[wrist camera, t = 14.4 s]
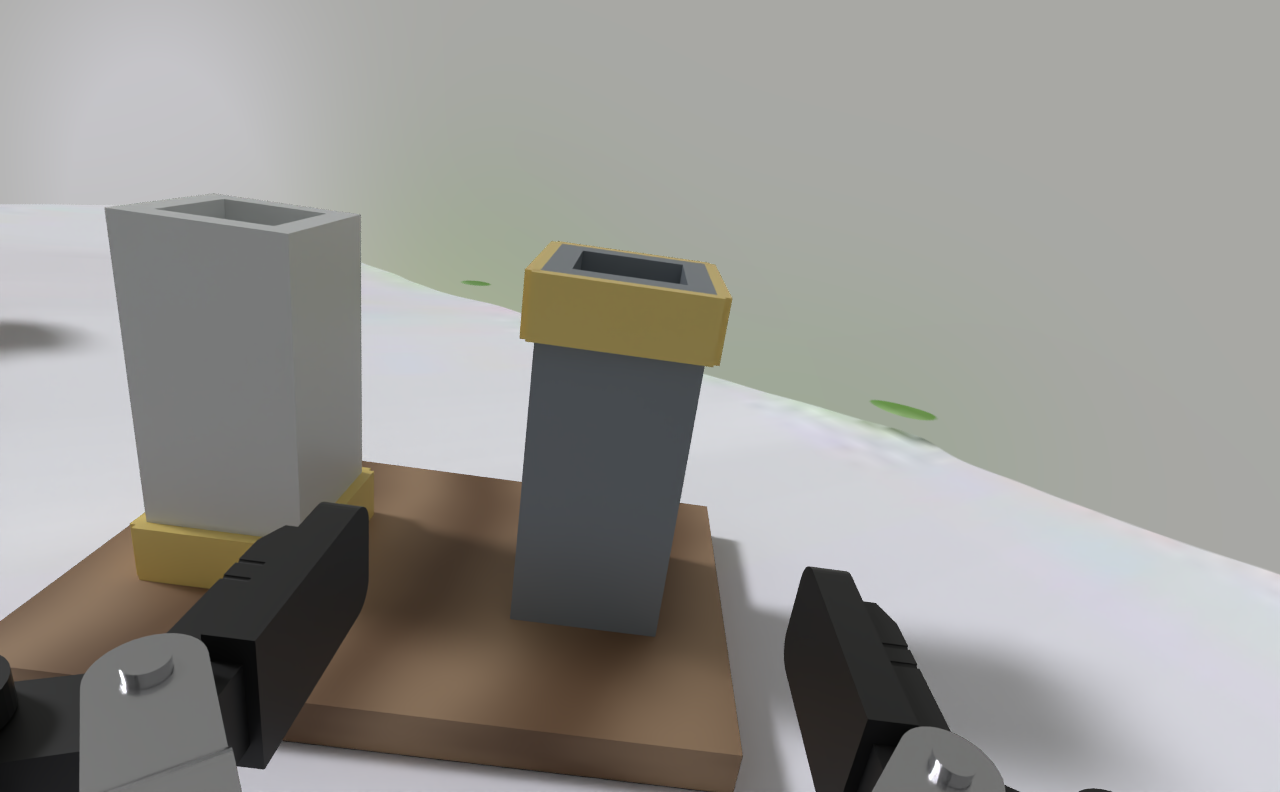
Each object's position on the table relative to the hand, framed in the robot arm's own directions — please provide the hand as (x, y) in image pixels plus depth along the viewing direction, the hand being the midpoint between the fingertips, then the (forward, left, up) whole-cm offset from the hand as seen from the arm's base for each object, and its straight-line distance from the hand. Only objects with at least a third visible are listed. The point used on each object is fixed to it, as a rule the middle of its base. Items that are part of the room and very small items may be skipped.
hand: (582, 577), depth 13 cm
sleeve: (0, +11, -8) cm, 14 cm away
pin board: (-6, +11, -10) cm, 16 cm away
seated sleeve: (-12, +11, -8) cm, 18 cm away
